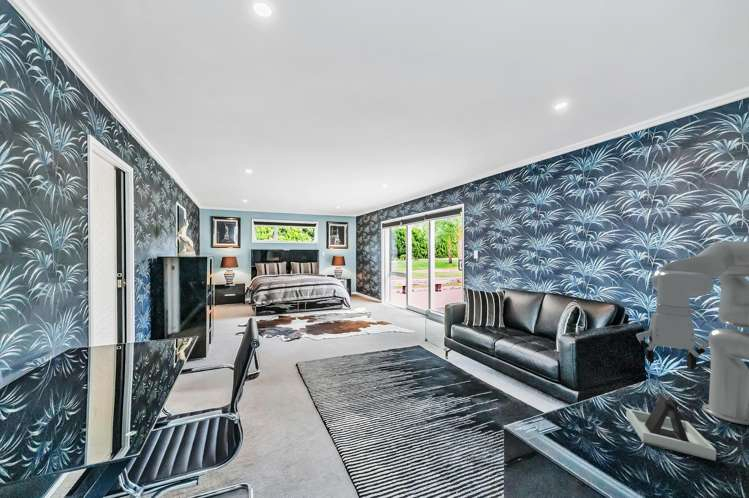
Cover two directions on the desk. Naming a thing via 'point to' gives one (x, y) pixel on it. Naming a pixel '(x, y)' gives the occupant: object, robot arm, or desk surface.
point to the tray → (693, 447)
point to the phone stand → (660, 414)
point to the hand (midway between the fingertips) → (669, 365)
